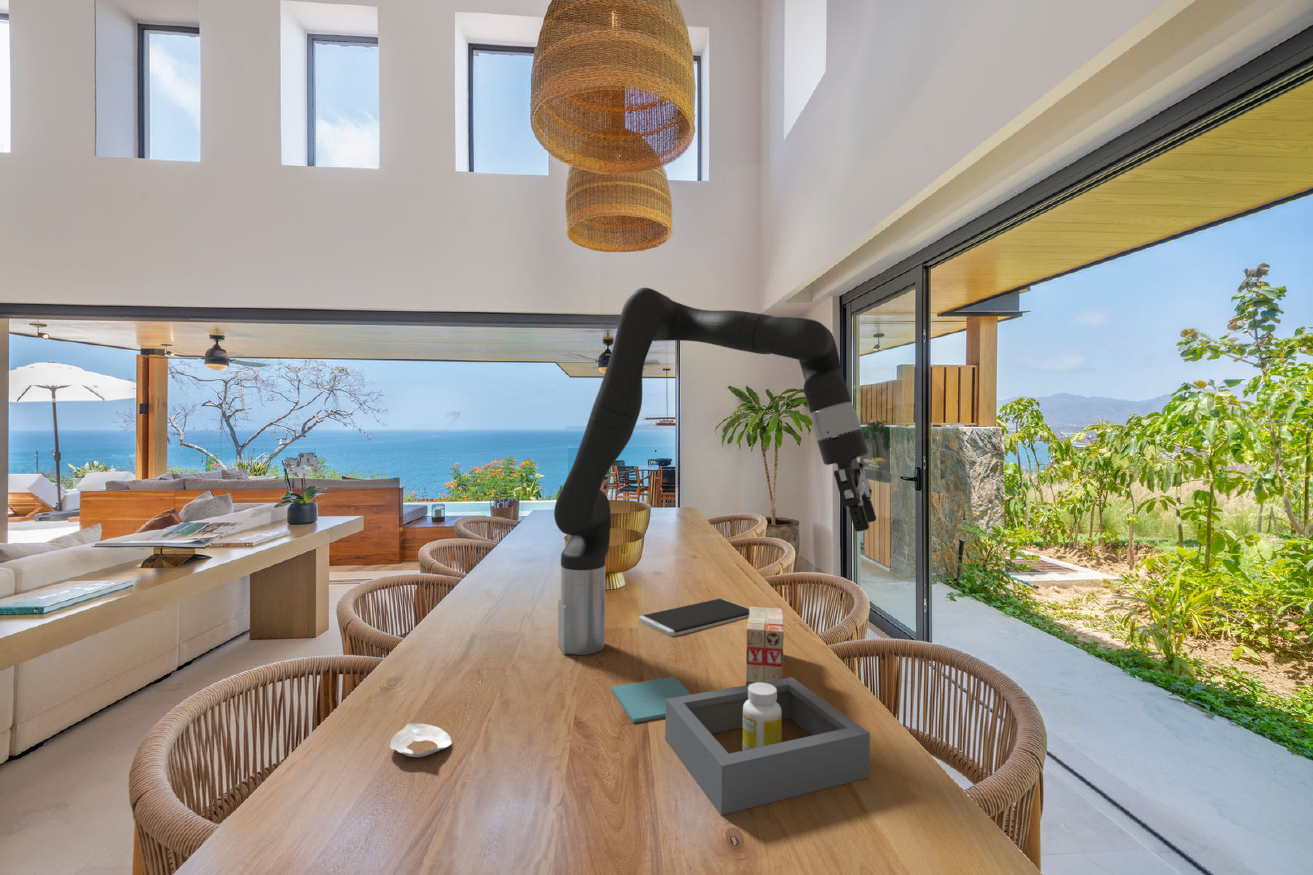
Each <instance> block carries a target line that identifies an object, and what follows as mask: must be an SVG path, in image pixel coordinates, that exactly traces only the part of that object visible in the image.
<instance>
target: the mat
mask: <svg viewBox="0 0 1313 875" xmlns="http://www.w3.org/2000/svg"><path fill="white" fill-rule="evenodd" d="M610 688H611V690H610V691H611V692H612V693H613V695H614V696H615V699H616V700H617V701H618V702H619V705H621V707H622V708H623V710H624V712H625V713H626V715H627V716H628V717H629V719H630V720H631V722H632V723H633V724H635V723H640V722H646V721H651V719H653V720H657V719H658V720H659V719H662V718H663V717H664V718H666V699H669V698H675V697H680V696H686V695H692V693H690V692H689V691H688V689H687V688H686V687H685V686H684V685H683V684H682V683H681V682H680V680H678V679H677V678H676V677H675V676H671V677H664V678H657V679H652V680H645V681H638V682H633V683H626V684H619V685H613V686H611V687H610Z"/></svg>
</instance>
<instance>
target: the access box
mask: <svg viewBox="0 0 1313 875" xmlns="http://www.w3.org/2000/svg"><path fill="white" fill-rule="evenodd" d="M762 683H767V684H771V685H773V686H774V687H775V688H776V689H777V700H776V702H777V703H778V704H779V705H780V707H781V712H782V719H783V720H786V719H787V720H788V719H790V720H791V721H792V722H794V723H795V724H796V725H797V726H798V727H800V728H801V729H802V730H803V731H804V732H806V733H807V734H808V735H809V736H806V737H800V738H796V739H790V740H786V741H782V742H781V743H776V744H772V745H767V746H763V747H758V748H753V749H749V750H744V751H743V750H741V751H735V752H731V753H729V752H728V751H727V750H726V749H725V747H723V745H721V743H720V742H719V741H718V740H717V739H716V738H715V736H713V734H717V732H718V733H722V732H727V731H731V730H737V729H741V728H742V729H743V705H744V703H745V702H746V701H747V700H748V699H749V698H748V687H749V685H746V684H745V685H740V686H734V687H728V688H727V687H726V688H723V689H717V690H710V691H706V692H700V693H693V694H692V693H691V695H686V696H680V697H675V698H669V699H666V717H664V718H665V719H664V720H665V727H664V728H665V729H664V730H665V732H664V733H665V734H664V735H665V736H664V738H665V741H666V742H667V744H668V745H669V746H670V747H671V750H673V752H674V754H676V756H677V757H678V758H680V759H679V760H680V761H681V763H682V762H683V763H682V764H683V765H684V767H685V768H686V770H687V771H688V773H689V774H690V775H691V776H692V778H693V779H694V780H695V782H696V783H697V784H698V786H699V787H700V789H701V790H702V791H703V793H704V794H705V796H706V797H707V798H708V800H710V802H711V803H712V805H713V807H714V808H715V809H716V811H718V813H719V814H720V816H724V815H728V814H729V815H730V814H733V813H737V812H739V811H744V810H747V809H752V808H757V807H760V806H764V805H767V804H771V803H774V802H779V801H783V800H787V799H790V798H794V797H799V796H802V795H806V794H809V793H815V792H817V791H821V790H825V789H829V788H833V787H837V786H841V785H845V784H849V783H853V782H857V781H860V780H865V779H868V778H870V755H871V754H870V748H871V746H870V743H871V732H870V731H868V730H867V729H865V728H864V727H862V726H861V724H858V723H857V722H856V721H854V720H853V719H851V718H850V717H848V716H847V715H846V714H844V713H843V712H841V711H840V710H839V709H837V708H836V707H834V706H833V705H832V704H830V703H829V702H827V700H825V699H823V698H821V697H820V696H819V695H817V694H816V693H814V691H812V690H810V689H809V688H807V687H806V686H804V685H803V684H802V683H801V682H799V681H798V680H796V679H795V678H794V677H785V678H783V679H780V680H774V681H768V682H762Z"/></svg>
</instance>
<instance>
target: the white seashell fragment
mask: <svg viewBox="0 0 1313 875" xmlns="http://www.w3.org/2000/svg"><path fill="white" fill-rule="evenodd" d="M423 741H430V742H433V743H434V744H436V745H437V748H434V747H431V748H430V749H427V750H424V751H422V752H419V753H414V751H413V749H409V748H407V747H408V746H410V745H411V744H413V743H414V742H423ZM451 745H452V738H451V736H450V735H449V734H448V732H447V731H445V730H444V729H443V728H440V727H438V726H435V725H431V724H427V723H420V722H417V723H415V722H413V723H411V722H408V723H407V724H406V725H405V726H404V727H403V728H402V729H401V730H399V731H398V732H396V733H395V734H394V736H393V737H392V738H391V741H390V746H389V747H390V750H391V749H392V750H393V751H397V753H400V754H402V755H404V756H408V757H413V758H422V757H427V756H429V755H432V754H434V753H437V752H439V751H441V750H444V749H447V748H448V747H449V746H451Z"/></svg>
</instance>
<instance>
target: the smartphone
mask: <svg viewBox="0 0 1313 875" xmlns="http://www.w3.org/2000/svg"><path fill="white" fill-rule="evenodd" d="M749 610H750V607H746V606H744V605H740V604H739V603H735V602H733V601H730V600H727V599H725V598H716V599H713V600H712V599H711V600H707V601H706V600H705V601H703V602H699V603H698V602H697V603H693V604H689V605H685V606H679V607H674V608H670V609H664V610H660V611H657V612H652V613H646V614H641V615H640V616H639V617H638V622H640V623H642V624H643V625H646V626H648V627H650V628H652V629H655V630H656V629H657V630H656V631H658V632H661V633H662V634H664V633H665V634H664V635H666V636H669V637H672V638H673V637H677V636H681V635H684V634H685V635H686V634H690V633H693V632H698V631H700V630H699V629H701V630H704V629H709V628H712V627H711V626H713V627H715V626H714V625H716V626H719V625H724V624H728V623H731V622H730V621H732V622H736V621H738V620H742V619H747V618H749ZM746 617H747V618H746ZM727 622H728V623H727ZM723 623H724V624H723Z"/></svg>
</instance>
